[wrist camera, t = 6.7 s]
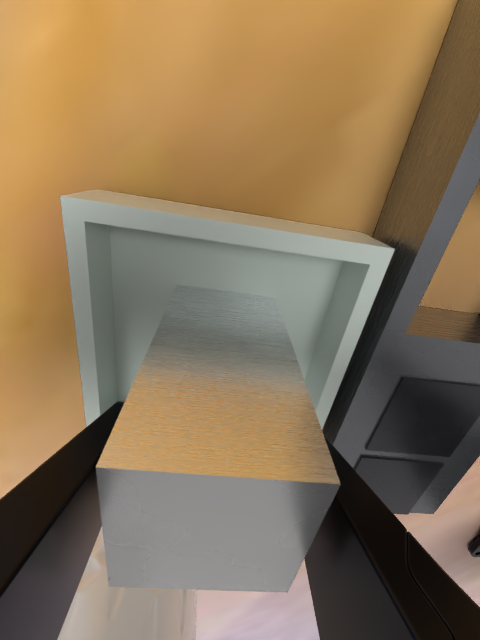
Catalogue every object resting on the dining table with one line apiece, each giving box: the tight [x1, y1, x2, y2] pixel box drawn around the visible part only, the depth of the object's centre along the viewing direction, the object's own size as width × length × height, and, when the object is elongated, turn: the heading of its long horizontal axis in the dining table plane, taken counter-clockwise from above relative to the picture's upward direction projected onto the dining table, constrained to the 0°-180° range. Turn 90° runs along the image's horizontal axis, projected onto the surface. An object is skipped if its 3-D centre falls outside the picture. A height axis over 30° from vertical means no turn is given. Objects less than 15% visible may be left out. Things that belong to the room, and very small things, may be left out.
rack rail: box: [322, 0, 480, 514], centre depth 12 cm, size 7×20×3 cm, turn 171°
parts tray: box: [60, 189, 395, 429], centre depth 12 cm, size 10×10×3 cm
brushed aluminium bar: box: [96, 285, 341, 592], centre depth 9 cm, size 4×4×8 cm
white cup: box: [57, 527, 197, 640], centre depth 15 cm, size 8×8×10 cm
